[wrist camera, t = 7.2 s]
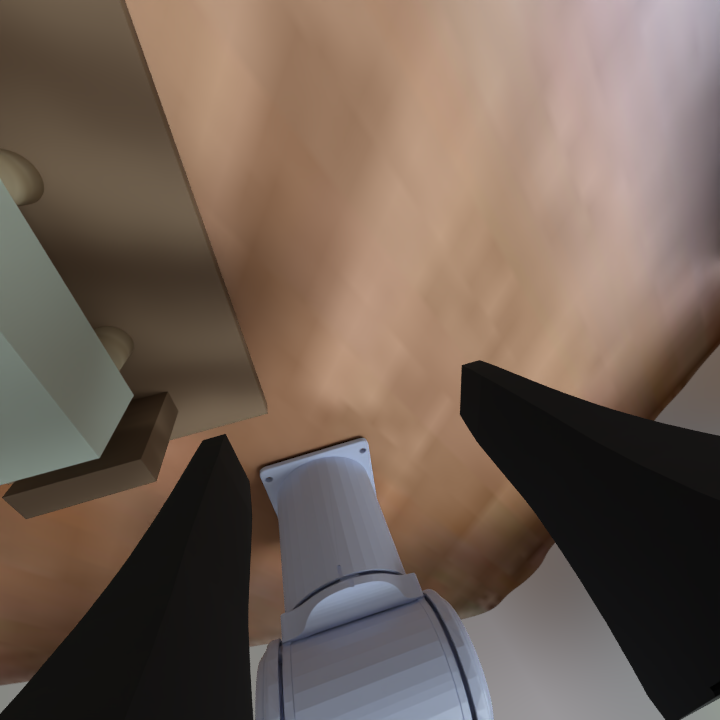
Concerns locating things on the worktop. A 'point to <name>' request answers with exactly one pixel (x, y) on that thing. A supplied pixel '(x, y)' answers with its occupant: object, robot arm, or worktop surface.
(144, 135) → the peg base
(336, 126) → the worktop surface
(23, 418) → the pale green block
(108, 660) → the robot arm
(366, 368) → the worktop surface
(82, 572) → the worktop surface
